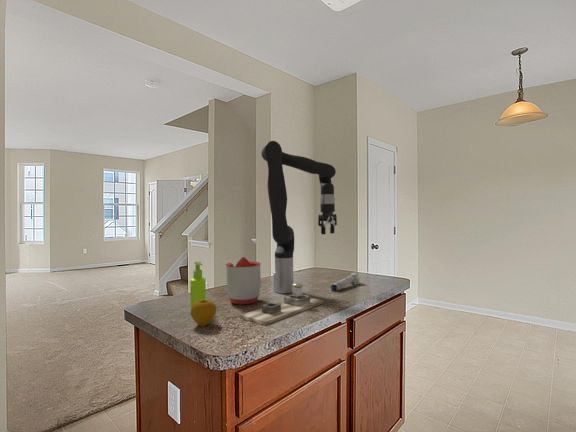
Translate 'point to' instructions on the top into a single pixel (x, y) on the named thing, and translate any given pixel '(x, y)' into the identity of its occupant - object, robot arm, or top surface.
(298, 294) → the pipe fitting
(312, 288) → the top surface
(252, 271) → the citrus juicer
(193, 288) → the soap dispenser
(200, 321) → the apple
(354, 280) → the grey piece
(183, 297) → the top surface
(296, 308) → the socket board
